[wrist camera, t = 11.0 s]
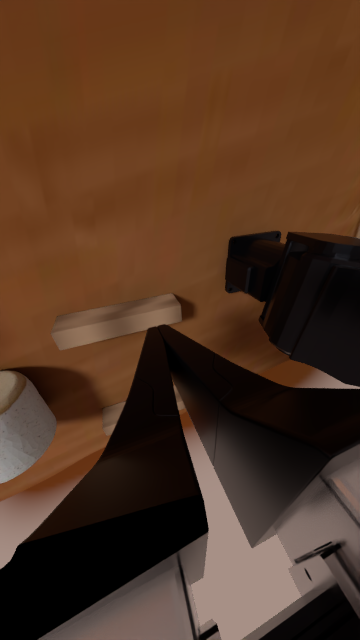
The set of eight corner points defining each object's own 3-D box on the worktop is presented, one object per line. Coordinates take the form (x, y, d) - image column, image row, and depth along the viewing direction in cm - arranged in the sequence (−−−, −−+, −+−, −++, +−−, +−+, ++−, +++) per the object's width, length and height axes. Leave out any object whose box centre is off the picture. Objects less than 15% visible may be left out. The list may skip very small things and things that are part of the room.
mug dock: (172, 293, 22) (180, 304, 19) (181, 391, 32) (187, 407, 29) (57, 316, 19) (50, 333, 17) (106, 416, 29) (106, 435, 27)
